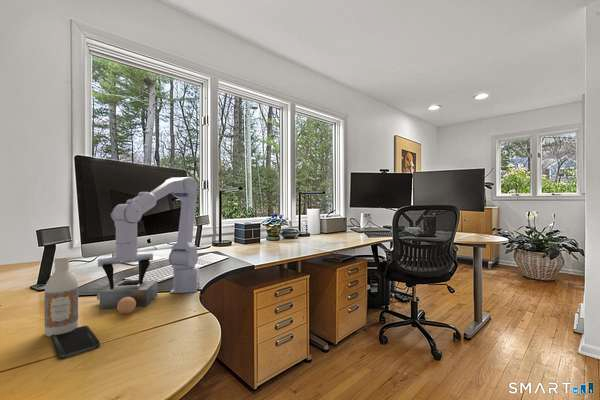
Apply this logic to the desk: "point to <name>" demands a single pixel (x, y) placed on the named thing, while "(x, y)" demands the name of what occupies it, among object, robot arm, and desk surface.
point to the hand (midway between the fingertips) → (126, 286)
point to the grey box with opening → (128, 293)
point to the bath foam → (61, 299)
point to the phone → (74, 342)
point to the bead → (126, 305)
